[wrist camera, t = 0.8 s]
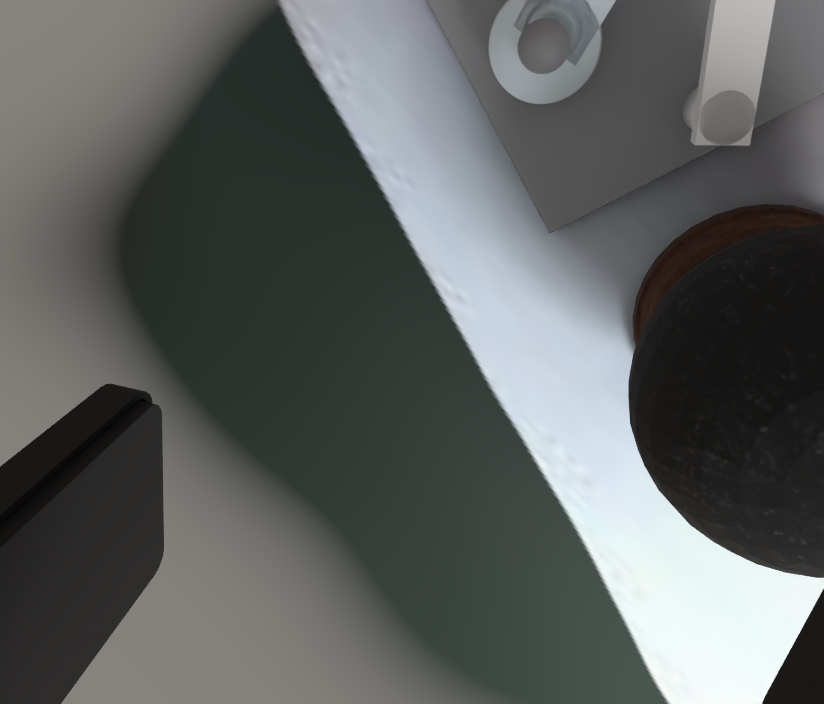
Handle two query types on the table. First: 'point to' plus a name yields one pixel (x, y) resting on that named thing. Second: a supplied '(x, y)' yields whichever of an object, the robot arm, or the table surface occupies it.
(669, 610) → the table surface
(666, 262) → the black stone ball
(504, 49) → the white lever handle
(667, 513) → the table surface
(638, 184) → the pintle board
